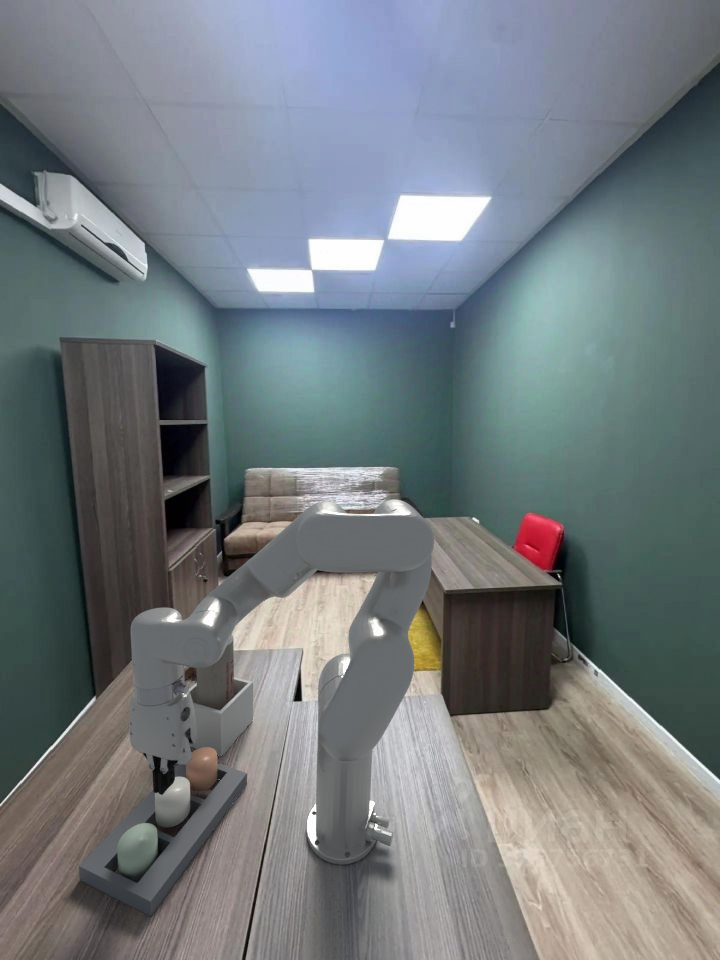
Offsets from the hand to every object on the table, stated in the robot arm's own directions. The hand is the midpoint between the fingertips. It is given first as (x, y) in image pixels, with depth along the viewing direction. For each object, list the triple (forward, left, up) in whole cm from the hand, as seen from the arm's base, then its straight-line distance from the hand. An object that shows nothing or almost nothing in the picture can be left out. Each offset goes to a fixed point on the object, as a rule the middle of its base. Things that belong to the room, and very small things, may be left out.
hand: (164, 786), depth 71 cm
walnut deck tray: (+22, -34, -10) cm, 42 cm away
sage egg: (0, +5, -9) cm, 11 cm away
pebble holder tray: (0, -2, -10) cm, 10 cm away
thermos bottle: (+8, -24, -10) cm, 27 cm away
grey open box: (+8, -24, -10) cm, 27 cm away
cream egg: (0, -2, -7) cm, 7 cm away
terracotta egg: (0, -10, -7) cm, 12 cm away
